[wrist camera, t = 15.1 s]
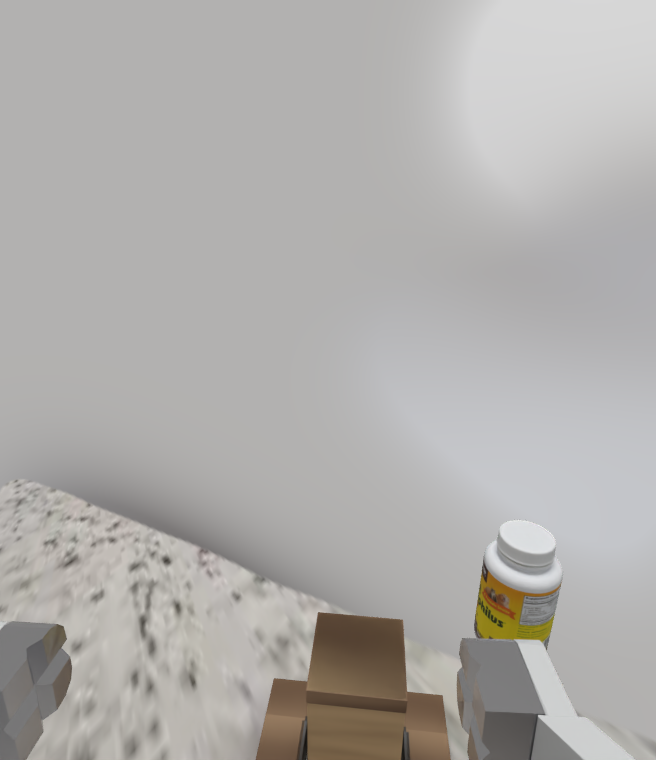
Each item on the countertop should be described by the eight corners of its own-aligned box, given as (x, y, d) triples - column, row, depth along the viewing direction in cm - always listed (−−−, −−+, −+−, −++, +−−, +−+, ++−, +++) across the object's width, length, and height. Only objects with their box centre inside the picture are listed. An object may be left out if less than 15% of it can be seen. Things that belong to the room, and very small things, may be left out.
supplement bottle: (463, 615, 42) (476, 514, 38) (525, 611, 42) (544, 510, 39) (489, 674, 37) (507, 563, 33) (560, 669, 37) (585, 558, 34)
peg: (392, 863, 26) (407, 701, 22) (307, 852, 26) (305, 690, 22) (390, 770, 30) (403, 619, 26) (317, 761, 31) (318, 612, 27)
